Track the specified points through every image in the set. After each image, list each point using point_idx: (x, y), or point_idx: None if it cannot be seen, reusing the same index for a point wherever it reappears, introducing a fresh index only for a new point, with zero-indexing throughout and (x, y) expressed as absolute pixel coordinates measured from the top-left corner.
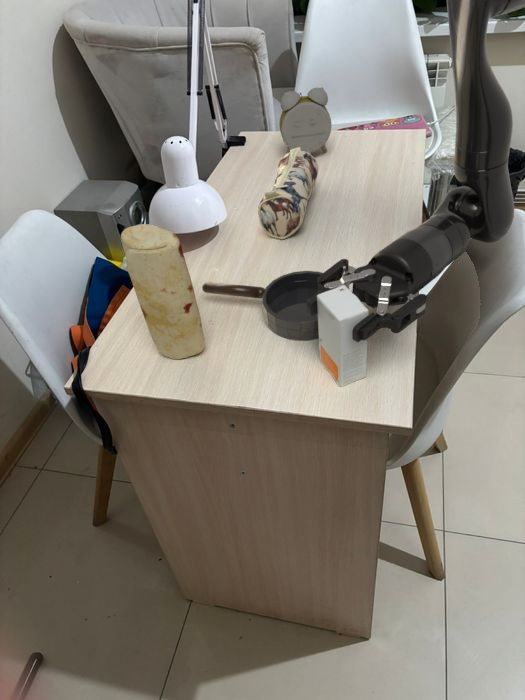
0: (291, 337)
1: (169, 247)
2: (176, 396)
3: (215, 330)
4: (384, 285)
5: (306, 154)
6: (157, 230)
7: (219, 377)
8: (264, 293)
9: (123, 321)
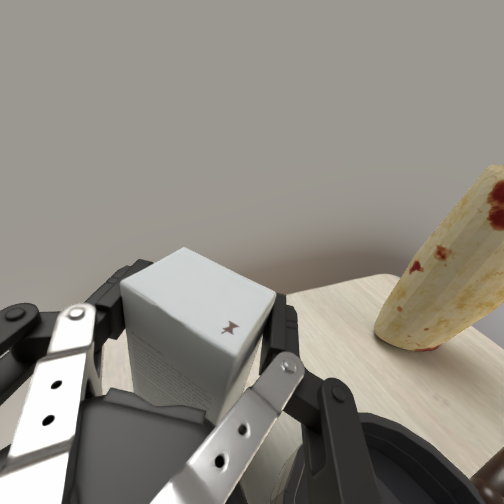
0: None
1: (497, 169)
2: (329, 286)
3: (416, 386)
4: (51, 448)
5: None
6: None
7: (323, 317)
8: (474, 489)
9: (487, 343)
